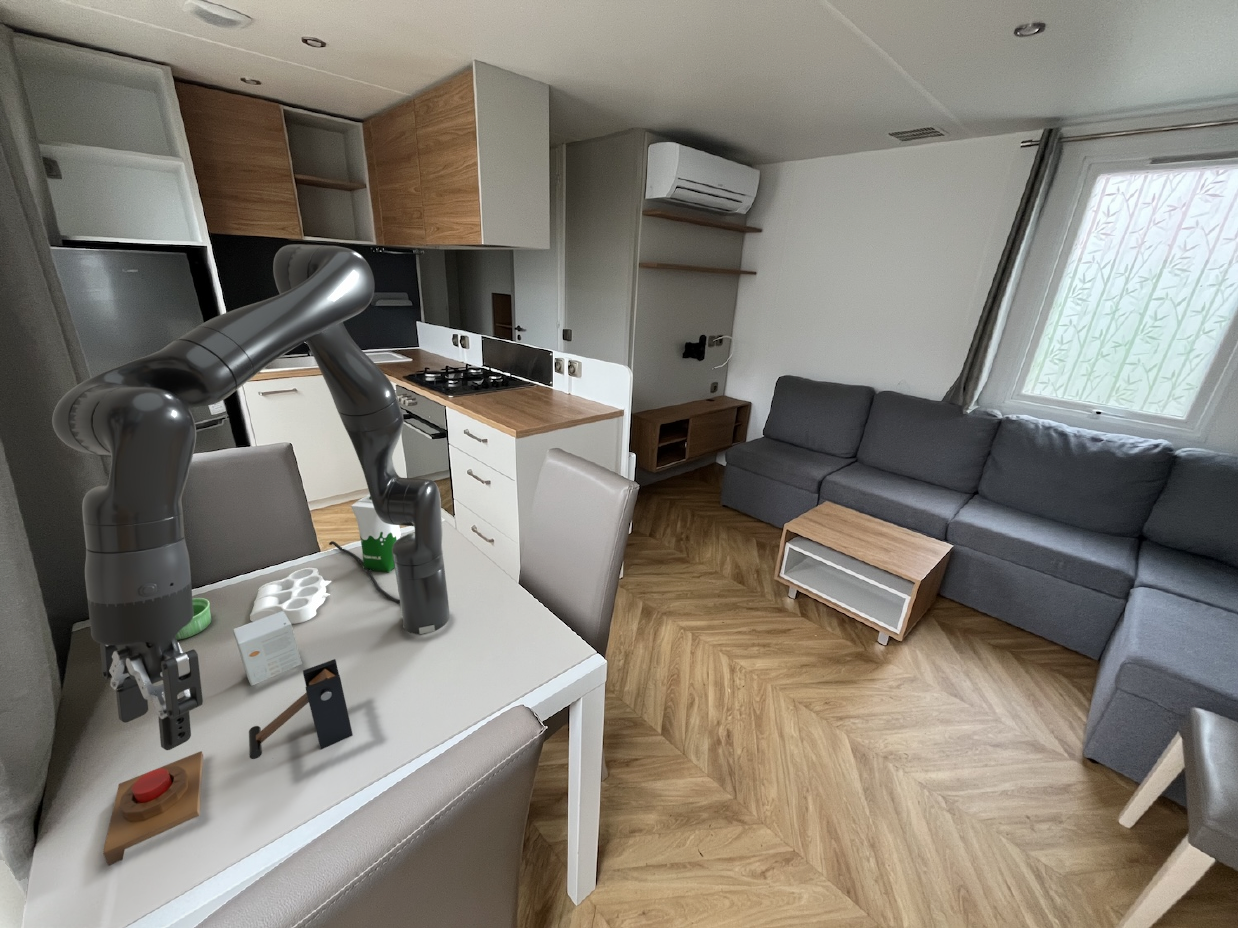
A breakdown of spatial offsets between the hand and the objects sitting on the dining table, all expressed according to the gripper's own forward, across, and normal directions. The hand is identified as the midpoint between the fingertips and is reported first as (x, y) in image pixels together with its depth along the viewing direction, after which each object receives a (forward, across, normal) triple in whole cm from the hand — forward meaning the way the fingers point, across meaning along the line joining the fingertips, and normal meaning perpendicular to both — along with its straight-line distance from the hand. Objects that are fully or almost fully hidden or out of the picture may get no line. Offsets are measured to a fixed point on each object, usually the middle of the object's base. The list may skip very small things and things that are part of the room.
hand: (154, 730), depth 52 cm
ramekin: (+16, +56, -28) cm, 65 cm away
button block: (+22, +16, -6) cm, 28 cm away
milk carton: (+10, +41, -63) cm, 76 cm away
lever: (+12, +7, -19) cm, 24 cm away
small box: (+17, +28, -28) cm, 43 cm away
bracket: (+19, +5, -24) cm, 31 cm away
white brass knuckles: (+14, +46, -43) cm, 64 cm away
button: (+19, +16, -5) cm, 25 cm away
